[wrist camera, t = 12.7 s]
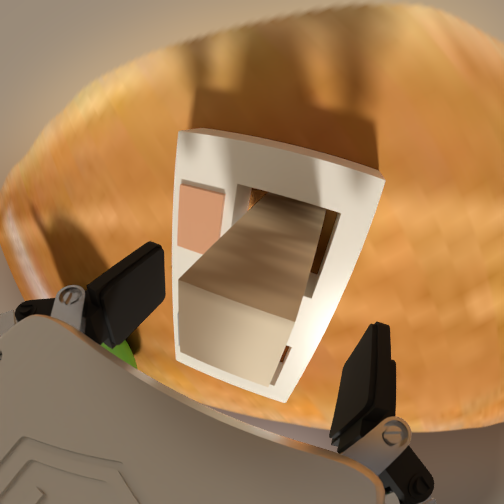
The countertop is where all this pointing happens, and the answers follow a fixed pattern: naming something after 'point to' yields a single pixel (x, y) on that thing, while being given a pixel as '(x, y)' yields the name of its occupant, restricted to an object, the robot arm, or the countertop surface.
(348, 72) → the countertop surface
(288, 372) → the socket block
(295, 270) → the maple peg
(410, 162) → the countertop surface
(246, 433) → the robot arm
